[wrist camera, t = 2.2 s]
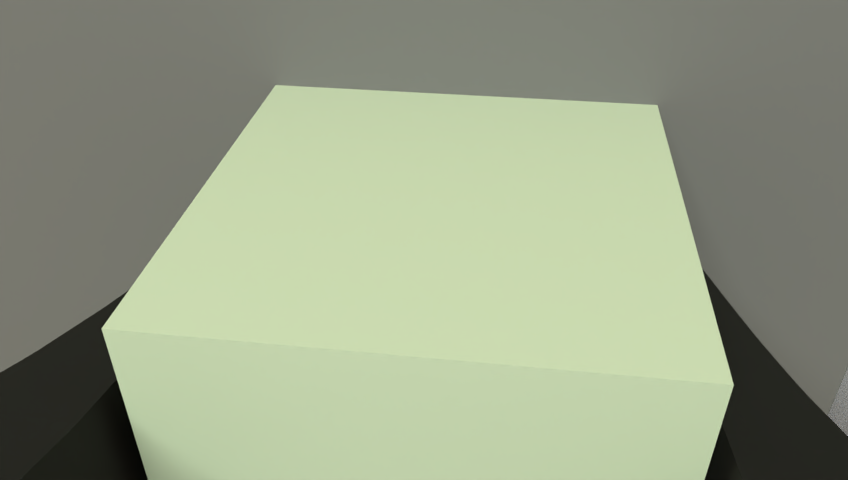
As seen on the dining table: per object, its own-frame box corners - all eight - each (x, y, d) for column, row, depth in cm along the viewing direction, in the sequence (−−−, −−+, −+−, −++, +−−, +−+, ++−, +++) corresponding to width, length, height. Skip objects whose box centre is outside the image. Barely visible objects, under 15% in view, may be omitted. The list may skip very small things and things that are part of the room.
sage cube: (657, 105, 10) (733, 384, 6) (606, 387, 13) (632, 708, 9) (275, 84, 10) (100, 329, 6) (307, 360, 13) (200, 652, 9)
